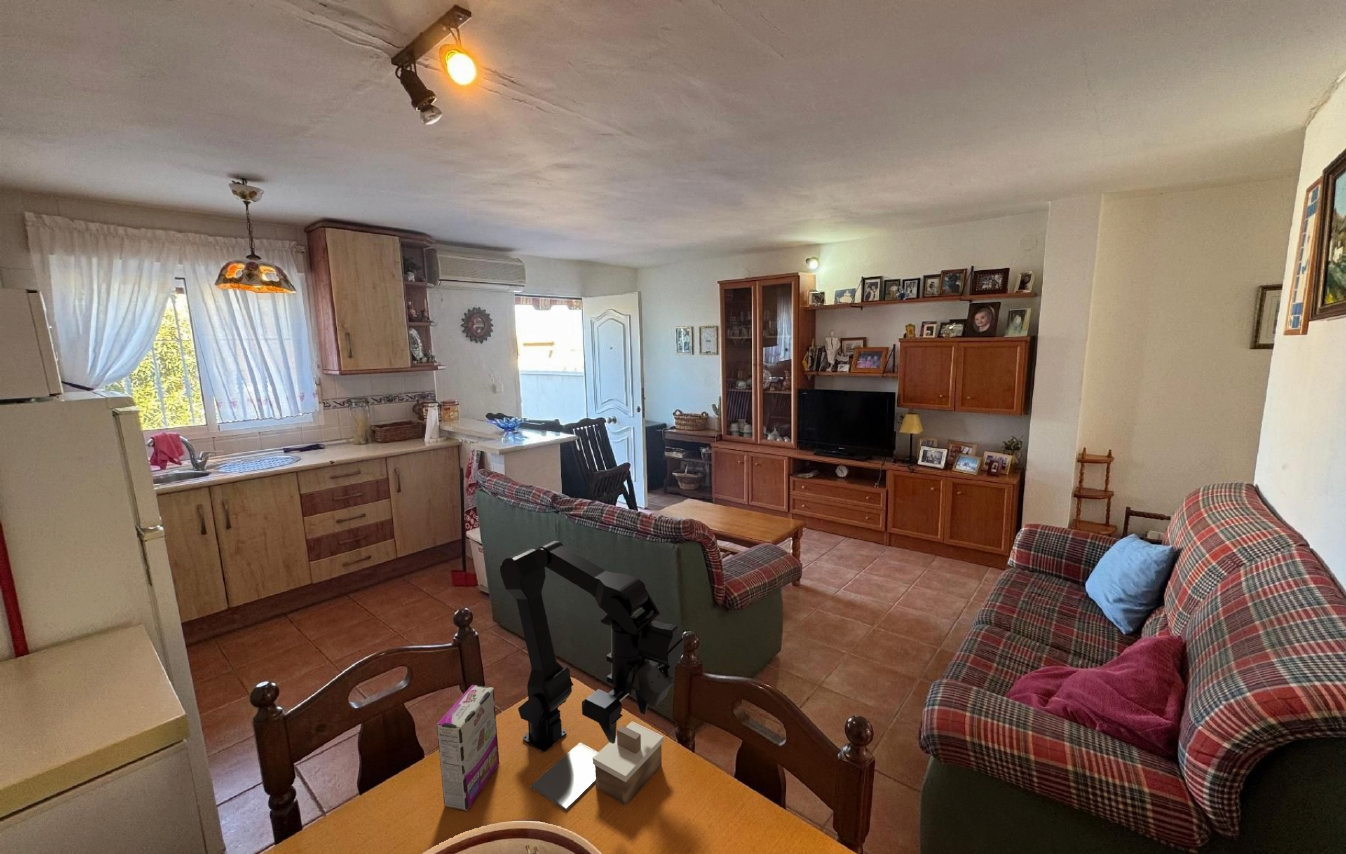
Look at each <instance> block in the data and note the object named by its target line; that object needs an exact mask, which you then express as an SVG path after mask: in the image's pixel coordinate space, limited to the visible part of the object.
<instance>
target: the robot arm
mask: <svg viewBox="0 0 1346 854" xmlns="http://www.w3.org/2000/svg"><path fill="white" fill-rule="evenodd" d="M546 568H547V569H548V570H550V571H551V572H553V573H555V574H557V575H559V576H560V577H562V578H563V579H565V580H567V581H568V582H570V583H572V584H573V585H575V586H576V587H578V588H580V589H582V590H583V591H585V592H586V593H588V594H590V595H591V596H592V597H593V598H594V599H595V601H596V603H597V605H598V608H600V609H601V610H602V611H603V612H604V613H606V615H605V616H604V617H602V618H601V619H600V623H601V624H603V625H607V626H609V627H610V639H611V640H610V641H611V642H610V647H611V649H610V650H611V651H610V652H609V653H608V654H606V662H609V663H611V673H610V674H608V675H607V676H606V682H607V683H609V684H611V685H612V690H610V691H609V692H606V691H605V690H602V689H600V688H598V689H596V690H595V691H594V692H592V693H591V694H590V695H589V696H587V697H586V698H585V699H583V700H582V701H581V714H582V716H584V717H586V718H588V719H591V720H592V721H594V722H596V723H598V724H599V726H600V728H601V730H602V732H603V733H604V735H605V737H606V739H607V740H608V743H609V742H610V743H612V744H614V743H615V739H616V736H617V727H618V726H617V725H618V724H617V722H618V721H619V720H620V719H621V718H622V717H623V714H621V713H622V711H623V704H622V702H621V701H623V700H624V699H625V698H626V697H627V696H629V695H631V696H632V695H633V694H634V693H635V696H636V702H637V706H638V710H639V712H640V714H641V715H646V714H647V711H648V707H649V706H650V707H657V706H658V705H659V703H660V702H661V701H662V700H664V699H666V697H667V695H668V693H669V691H670V688H671V687H672V686H673V685H674V684H675V677H674V676H675V667H677V666H678V664H679V662H680V660H681V658H682V655H683V653H684V647H685V639H684V637H683V634H682V633H681V632H679V627H678V625H676V624H671V623H666V622H662V621H659V620H656V619H657V618H658V617H660V614H661V613H660V611H659V609H658V608H657V606H656V604H655V602H654V601H653V599H652V597H651V596H650V594H649V592H648V591H647V588H646V584H645V582H643V580H641V579H639V578H638V577H635V576H632V575H629V574H626V573H621V572H620V573H619V572H611V571H608V570H606V569H603V568H602V567H600V566H599V565H597V564H595V563H593V562H592V561H590V560H588V559H586V558H585V557H583V556H581V555H579V554H577V553H576V552H575V551H572V550H570V549H569V548H567V547H566V546H564V545H563V543H562V542H561V541H559V540H552V541H550V542H549V541H548V542H547V543H545V544H543V545H540V546H539V547H537V548H536V549H535V548H532V547H531V548H526V549H524V550H522V551H520V552H517V553H515V554H513V555H511V556H509V557H506V558H505V559H503V561H502V563H501V565H500V566H499V573H500V576H501V578H502V579H501V580H502V583H503V585H504V588H505V590H506V591H507V592H508V593H509V594H510V595H511V596H512V597H513V598H514V599H515V600H516V603H517V609H518V613H519V617H520V622H521V627H522V631H523V636H524V640H525V645H526V648H527V649H526V650H527V654H528V659H529V664H530V667H531V669H530V674H529V677H528V680H527V685H526V686H527V687H526V688H527V690H526V691H527V698H528V699H527V700H526V701H525V702H524V703H522V704H521V705H520V706H519V707H518V708H517V710H518V714H519V716H520V719H522V720H524V721H526V722H527V726H528V733H526V734H525V735H524V736H523V737H522V741H523V742H525V743H527V744H528V745H530V746H532V747H534V748H535V749H537V750H539V751H540V752H542V753H546V752H548V750H549V749H550V748H551V747H553V746H554V745H556V744H557V743H558V742H559V741H560V740H561V739H563V738H564V737H565V736H566V735H567V730H565V729H564V728H562V726H563V725H562V719H561V710H560V709H559V708H560V707H561V706H562V705H563V704H564V703H565V704H566V702H567V699H568V698H569V697H570V696H571V694H572V692H573V689H572V688H573V686H574V683H573V681H572V677H571V671H570V668H568V666H566V667H564V666H563V665H562V664H560V663H559V661H558V660H557V657H556V653H555V650H554V643H553V640H552V635H551V630H550V626H549V621H548V616H547V611H546V607H545V603H544V599H543V588H544V584H545V580H546V576H547V575H546ZM641 609H643V610H644V611H643V612H641V614H639V615H638V616H635V614H636V613H638V612H639V610H641Z"/></svg>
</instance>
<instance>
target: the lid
mask: <svg viewBox="0 0 1346 854" xmlns="http://www.w3.org/2000/svg"><path fill="white" fill-rule="evenodd" d="M664 738H665V737H664V735H662V734H659V733H657V732H655V731H653V730H652V729H649V728H647V727H645V726H643V725H641V724H638V723H637V722H634V721H632V720H631V721H630V722H629V723H628V724H627V725H626V726H625V725H622V724H621V726H620V727H618V728H616V739H615V743H614V744H612V743H610V742H609V741H608V743H607V744H605V746H604V747H603V748H601V749H600V750H599V751H597V752H598V753H597V754H596V755H595V756H594V757H593V764H594V765H596V766H597V767H599V768H601V769H603V770H605V771H606V772H608V773H610V774H612V775H614V776H615V777H617V778H619V779H621V780H622V781H624V782H626V781H627V780H628V779H629V778H630V777H631V776H632V775H633V774H634V773H635V772H636V771H637V770H638V769H639V768H640V766H641V765H642V764H643V763H644V762H645V761H646V760H647V759H648V758H649V757H650V756H651V755H652V754H653V753H654V752H655V750H656V749H657V748H658V747H659V746H660V745H661V746H662V744H663V743H664V740H665V739H664Z"/></svg>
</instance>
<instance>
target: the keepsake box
mask: <svg viewBox="0 0 1346 854" xmlns="http://www.w3.org/2000/svg"><path fill="white" fill-rule="evenodd" d="M662 760H663V759H662V744H661V745H660V746H659V747H658V748H657V749H656V750H655V752H654V753H653V754H652V755H651V756H650V757H649V758H648V759H647V760H646V761H645V762H644V763H643V764H642V765H641V766H640V768H639V769H638V770H637V771H636V772H635V773H634V774H633V775H632V776H631V777H630V778H629V779H628V780H627V781H626V782H624V781H622V780H621V779H619V778H617V777H615V776H614V775H612V774H610V773H608V772H606V771H605V770H603V769H601V768H599V767H597V766H596V765H595V777H596V782H595V789H596V790H598V791H600V792H602V793H603V794H605V795H607V796H609V797H610V798H612V799H613V800H615V801H617V802H619V803H620V804H622V805H624V806H627V805H628V804H629V803H631V801H632V800H633V798H634V797H635V796H637V794H638V793H639V792H640V791H641V790H642V789H643V787H644V786H645V785H646V784H647V783H648V782H649V781H650V779H651V778H653V776H654V775H655V774H656V772H657V771H659V769H660V768H661V767H662V765H663V763H662Z"/></svg>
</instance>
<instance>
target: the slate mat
mask: <svg viewBox="0 0 1346 854" xmlns="http://www.w3.org/2000/svg"><path fill="white" fill-rule="evenodd" d="M598 752H599V751H597V750H596V749H594V748H591V747H589V746H588V745H586V744H584V743H582V742H579V743H578V744H576V745H575V746H574V747H573V748H571V750H569V752H567V753H566V754H565V755H563V757H561V758H560V759H559V760H558V761H557V762H556V763H554V764H553V765H552V766H551V767H550V768H549V769H548V770H547V771H545V772H543V774H542V775H541V776H540V777H538V779H536V780H535V781H534V782H533V783H531V785H530V788H531V789H532V790H534V791H535V792H537V793H538V794H540V795H541V796H542V797H544V798H546V799H547V800H549V801H550V802H552V803H553V804H554V805H557V806H558V807H560V808H561V809H562V810H564V811H566V812H567V811H568V810H569V809H570V808H571V807H572V806H573V805H574V804H575V803H577V801H578V800H579V799H581V797H582V796H583V795H584V794H585V793H586V792H587V791H588V790H589V789H590V788H591V787H593V785H594V784H596V777H595V765H594V764H593V757H594V756H595V755H596V754H597V753H598Z"/></svg>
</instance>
